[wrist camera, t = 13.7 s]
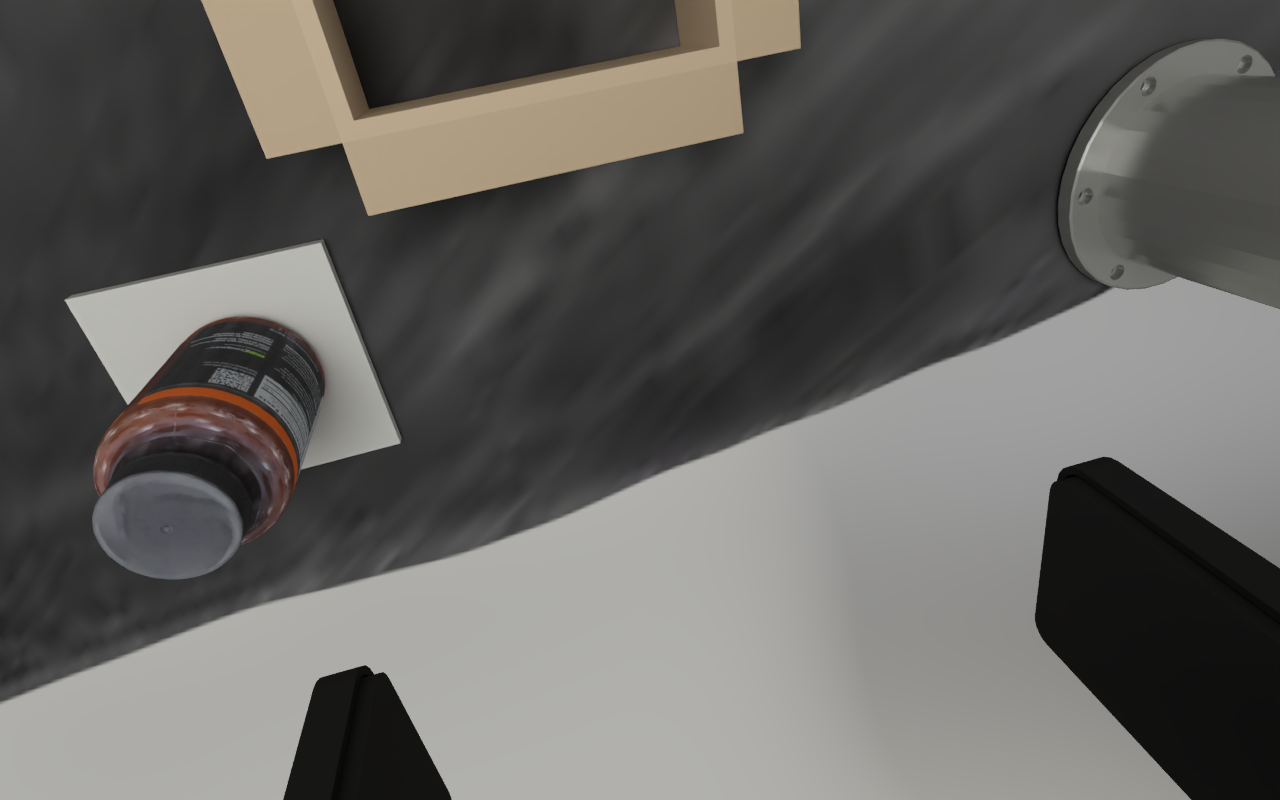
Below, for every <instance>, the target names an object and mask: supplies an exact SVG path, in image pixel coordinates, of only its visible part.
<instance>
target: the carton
mask: <svg viewBox="0 0 1280 800" xmlns="http://www.w3.org/2000/svg"><path fill="white" fill-rule="evenodd" d="M201 1H202V3H203V5H204V8H205V10H206V13H207V15H208V18H209V20H210V22H211V25H212V27H213V30H214V32H215V35H216V37H217V39H218V42H219V44H220V47H221V49H222V52H223V54H224V56H225V59H226V61H227V64H228V66H229V69H230V71H231V74H232V76H233V78H234V81H235V83H236V86H237V88H238V91H239V93H240V95H241V98H242V100H243V103H244V105H245V108H246V110H247V112H248V115H249V117H250V120H251V122H252V125H253V127H254V129H255V132H256V134H257V137H258V139H259V142H260V144H261V146H262V149H263V151H264V154H265V156H266V159H268V158H273V157H277V156H282V155H287V154H292V153H297V152H302V151H306V150H311V149H316V148H321V147H326V146H331V145H335V144H340V143H342V144H343V146H344V149H345V152H346V155H347V158H348V160H349V163H350V166H351V169H352V172H353V174H354V177H355V180H356V183H357V186H358V188H359V191H360V194H361V197H362V200H363V202H364V205H365V208H366V211H367V214H368V216H371V215H375V214H380V213H384V212H389V211H393V210H398V209H402V208H407V207H411V206H416V205H420V204H425V203H429V202H434V201H438V200H443V199H447V198H452V197H457V196H461V195H466V194H470V193H475V192H479V191H484V190H488V189H493V188H497V187H502V186H506V185H511V184H515V183H520V182H524V181H529V180H533V179H538V178H542V177H547V176H552V175H556V174H561V173H565V172H570V171H574V170H579V169H583V168H588V167H592V166H597V165H601V164H606V163H610V162H615V161H619V160H624V159H628V158H633V157H637V156H642V155H647V154H651V153H656V152H660V151H665V150H669V149H674V148H678V147H683V146H687V145H692V144H696V143H701V142H705V141H710V140H714V139H719V138H723V137H728V136H732V135H737V134H742V133H744V132H743V121H742V111H741V100H740V89H739V78H738V67H737V61H741V60H746V59H751V58H756V57H760V56H765V55H770V54H775V53H780V52H785V51H789V50H794V49H799V48H801V42H800V23H799V4H798V0H675V8H676V16H677V24H678V32H679V40H680V46H679V47H674V48H669V49H664V50H659V51H654V52H649V53H644V54H640V55H635V56H630V57H625V58H620V59H615V60H610V61H605V62H600V63H595V64H590V65H585V66H580V67H575V68H570V69H565V70H560V71H555V72H550V73H545V74H540V75H536V76H531V77H526V78H521V79H516V80H511V81H506V82H501V83H496V84H491V85H486V86H481V87H476V88H471V89H466V90H461V91H456V92H451V93H446V94H441V95H436V96H432V97H427V98H422V99H417V100H412V101H407V102H402V103H397V104H392V105H387V106H382V107H377V108H372V109H369V107H368V104H367V101H366V98H365V95H364V92H363V89H362V86H361V83H360V80H359V77H358V74H357V71H356V68H355V65H354V62H353V59H352V56H351V53H350V50H349V47H348V44H347V41H346V38H345V35H344V32H343V29H342V26H341V23H340V20H339V17H338V14H337V11H336V8H335V4H334V1H333V0H201Z"/></svg>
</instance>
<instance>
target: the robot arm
mask: <svg viewBox="0 0 1280 800" xmlns="http://www.w3.org/2000/svg"><path fill="white" fill-rule="evenodd" d="M1058 226H1059V230H1060V235H1061V240H1062V244H1063V246H1064V248H1065V250H1066V253H1067V255H1068V257H1069V259H1070V260H1071V261H1072V263H1073V264H1074V265H1075V266H1076V267H1077V268H1078V270H1079V271H1080V272H1082V273H1083V274H1085V275H1086V276H1088V277H1089V278H1091V279H1092V280H1095V281H1097V282H1100V283H1103V284H1105V285H1108V286H1111V287H1116V288H1122V289H1143V288H1148V287H1151V286H1155V285H1159V284H1162V283H1165V282H1167V281H1169V280H1171V279H1174V278H1176V277H1181V278H1184V279H1187V280H1191V281H1194V282H1197V283H1200V284H1203V285H1206V286H1209V287H1213V288H1216V289H1219V290H1222V291H1225V292H1228V293H1231V294H1234V295H1238V296H1241V297H1244V298H1247V299H1250V300H1254V301H1257V302H1260V303H1263V304H1266V305H1269V306H1272V307H1275V308H1278V309H1280V77H1279V76H1275V74H1274V72H1273V70H1272V68H1271V66H1270V64H1269V62H1268V61H1267V60H1266V59H1265V58H1264V57H1263V56H1262V55H1261V54H1260V53H1259V52H1258V51H1257V50H1256V49H1254V48H1252V47H1250V46H1248V45H1246V44H1244V43H1242V42H1239V41H1233V40H1227V39H1196V40H1192V41H1187V42H1183V43H1178V44H1175V45H1173V46H1171V47H1168V48H1166V49H1164V50H1162V51H1159V52H1157V53H1155V54H1153V55H1152V56H1150V57H1149V58H1148V59H1146V60H1145V61H1143V62H1142V63H1140V64H1139V65H1137V66H1136V67H1134V68H1133V69H1132V70H1131V71H1130V72H1129V73H1127V74H1126V75H1125V76H1124V77H1123V78H1122V79H1121V80H1120V81H1119V82H1118V83H1117V84H1115V85H1114V86H1113V87H1112V89H1111V90H1110V91H1109V92H1108V93H1107V95H1106V96H1105V97H1104V98H1103V99H1102V101H1101V102H1100V103H1099V104H1098V105H1097V107H1096V108H1095V110H1094V111H1093V113H1092V114H1091V116H1090V117H1089V119H1088V120H1087V122H1086V124H1085V125H1084V127H1083V128H1082V130H1081V132H1080V134H1079V136H1078V138H1077V140H1076V142H1075V144H1074V147H1073V149H1072V151H1071V153H1070V155H1069V158H1068V161H1067V165H1066V168H1065V171H1064V174H1063V177H1062V181H1061V187H1060V194H1059V200H1058ZM1035 622H1036V626H1037V629H1038V631H1039V633H1040V635H1041V637H1042V638H1043V640H1044V641H1045V642H1046V644H1047V645H1048V646H1049V647H1050V648H1051V649H1052V650H1053V651H1054V653H1055V654H1056V655H1057V656H1058V657H1059V658H1060V659H1061V660H1062V661H1063V662H1064V663H1065V664H1066V665H1067V666H1068V667H1069V669H1070V670H1071V671H1072V672H1073V673H1074V674H1075V675H1076V676H1077V677H1078V678H1079V679H1080V680H1081V682H1082V683H1083V684H1084V685H1085V686H1086V687H1087V688H1088V689H1089V690H1090V691H1091V692H1092V693H1093V694H1094V695H1095V696H1096V698H1097V699H1098V700H1099V701H1100V702H1101V703H1102V704H1103V705H1104V706H1105V707H1106V708H1107V709H1108V711H1109V712H1110V713H1111V714H1112V715H1113V716H1114V717H1115V718H1116V719H1117V720H1118V721H1119V722H1120V723H1121V725H1122V726H1123V727H1124V728H1125V729H1126V730H1127V731H1128V732H1129V733H1130V734H1131V735H1132V736H1133V737H1134V738H1135V740H1136V741H1137V742H1138V743H1139V744H1140V745H1141V746H1142V747H1143V748H1144V749H1145V750H1146V751H1147V752H1148V754H1149V755H1150V756H1151V757H1152V758H1153V759H1154V760H1155V761H1156V762H1157V763H1158V764H1159V765H1160V766H1161V767H1162V769H1163V770H1164V771H1165V772H1166V773H1167V774H1168V775H1169V776H1170V777H1171V778H1172V779H1173V780H1174V782H1175V783H1177V785H1178V786H1179V787H1180V788H1181V789H1182V790H1183V791H1184V792H1185V793H1186V794H1187V795H1188V797H1189V798H1190V799H1191V800H1280V568H1278V567H1277V566H1275V565H1274V564H1272V563H1271V562H1269V561H1268V560H1266V559H1265V558H1263V557H1262V556H1260V555H1258V554H1257V553H1256V552H1254V551H1253V550H1251V549H1250V548H1248V547H1246V546H1245V545H1244V544H1242V543H1241V542H1239V541H1238V540H1236V539H1234V538H1233V537H1231V536H1230V535H1228V534H1227V533H1225V532H1224V531H1222V530H1221V529H1219V528H1218V527H1216V526H1215V525H1213V524H1212V523H1210V522H1209V521H1207V520H1206V519H1204V518H1203V517H1201V516H1200V515H1198V514H1196V513H1195V512H1194V511H1192V510H1191V509H1189V508H1188V507H1186V506H1185V505H1183V504H1182V503H1180V502H1179V501H1177V500H1176V499H1174V498H1172V497H1171V496H1170V495H1168V494H1167V493H1165V492H1164V491H1162V490H1161V489H1159V488H1158V487H1156V486H1155V485H1153V484H1152V483H1150V482H1149V481H1147V480H1145V479H1144V478H1142V477H1141V476H1139V475H1138V474H1136V473H1135V472H1133V471H1132V470H1130V469H1129V468H1127V467H1126V466H1124V465H1123V464H1121V463H1120V462H1118V461H1116V460H1114V459H1112V458H1109V457H1102V458H1098V459H1094V460H1091V461H1087V462H1083V463H1080V464H1076V465H1073V466H1069V467H1066V468H1063V469H1062V471H1061V472H1060V473H1059V475H1058V479H1057V481H1056V482H1054V483H1053V484H1052V485H1051V488H1050V494H1049V502H1048V511H1047V519H1046V528H1045V536H1044V545H1043V554H1042V561H1041V570H1040V579H1039V587H1038V595H1037V603H1036V613H1035ZM283 800H451V796H450V794H449V791H448V789H447V788H446V786H445V784H444V782H443V780H442V778H441V776H440V774H439V772H438V771H437V769H436V767H435V765H434V763H433V761H432V759H431V757H430V755H429V754H428V751H427V750H426V748H425V746H424V744H423V742H422V740H421V738H420V736H419V734H418V732H417V731H416V729H415V727H414V725H413V723H412V721H411V719H410V717H409V715H408V714H407V712H406V710H405V708H404V706H403V704H402V702H401V700H400V699H399V696H398V695H397V693H396V691H395V689H394V687H393V685H392V683H391V681H390V679H389V678H388V676H387V675H386V674H385V673H383V672H382V673H378V674H375V675H374V674H373V672H372V671H371V669H370V668H369V667H367V666H366V665H365V666H361V667H357V668H354V669H350V670H346V671H343V672H339V673H336V674H332V675H329V676H325V677H322V678H320V679H319V680H318V681H317V682H316V684H315V687H314V689H313V692H312V696H311V700H310V703H309V707H308V711H307V714H306V718H305V722H304V726H303V729H302V733H301V736H300V740H299V744H298V747H297V751H296V755H295V759H294V762H293V766H292V769H291V773H290V777H289V781H288V785H287V788H286V792H285V795H284V799H283Z"/></svg>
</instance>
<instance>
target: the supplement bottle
mask: <svg viewBox="0 0 1280 800" xmlns="http://www.w3.org/2000/svg"><path fill="white" fill-rule="evenodd" d="M324 392H325V376H324V372H323V369H322V366H321V363H320V361H319V359H318V357H317V356H316V354H315V352H314V351H313V350H312V349H311V347H310V346H309V345H308V344H307V343H306V342H305V341H304V340H303V339H302V338H301V337H300V336H299V335H297V334H296V333H295V332H293V331H291V330H289V329H287V328H285V327H284V326H282V325H279V324H277V323H275V322H272V321H268V320H265V319H261V318H254V317H230V318H224V319H220V320H217V321H214V322H211V323H209V324H207V325H205V326H203V327H201V328H199V329H198V330H196V331H195V332H194V333H193V334H191V335H190V336H189V337H188V338H187V339H186V340H185V341H184V342H183V343H182V344H180V346H179V347H178V348H177V349H176V351H174V353H173V354H172V355H171V356H170V357H169V358H168V360H167V361H166V362H165V363H164V364H163V366H162V367H161V368H160V369H159V370H158V371H157V372H156V374H155V375H154V376H153V377H152V378H151V379H150V380H149V382H148V383H147V384H146V385H145V386H144V387H143V389H142V390H141V391H140V392H139V393H138V394H137V396H136V397H135V398H134V399H133V400H132V401H131V402H130V403H129V404H128V406H127V407H126V408H125V409H124V410H123V411H122V412H121V413H120V415H119V416H118V418H117V419H116V420H115V421H114V422H113V424H112V425H111V426H110V427H109V429H108V430H107V431H106V433H105V435H104V436H103V438H102V440H101V442H100V444H99V446H98V448H97V451H96V456H95V460H94V466H93V470H94V472H93V477H94V483H95V488H96V490H97V492H98V495H99V499H98V501H97V502H96V504H95V508H94V511H93V516H92V525H93V532H94V534H95V536H96V539H97V540H98V543H99V544H100V545H101V547H102V549H103V550H104V551H105V552H106V553H107V554H108V555H109V556H110V557H111V558H112V559H114V560H115V561H116V562H117V563H119V564H120V565H122V566H124V567H125V568H127V569H129V570H131V571H133V572H136V573H139V574H142V575H145V576H149V577H153V578H161V579H186V578H193V577H197V576H200V575H203V574H207V573H209V572H212V571H214V570H215V569H217V568H219V567H221V566H222V565H223V564H224V563H226V562H227V561H228V560H229V559H230V558H231V557H232V556H233V555H234V554H235V552H236V551H237V550H238V548H239V546H240V545H242V544H245V543H247V542H250V541H251V540H253V539H255V538H257V537H258V536H260V535H261V534H263V533H264V532H265V531H267V530H268V529H269V528H270V527H271V526H272V525H273V524H274V523H275V522H276V521H277V519H278V518H279V517H280V516H281V515H282V513H283V511H284V510H285V508H286V507H287V505H288V502H289V500H290V498H291V496H292V493H293V490H294V487H295V485H296V483H297V479H298V476H299V473H300V470H301V467H302V464H303V461H304V458H305V455H306V452H307V449H308V446H309V443H310V440H311V437H312V434H313V431H314V428H315V425H316V422H317V419H318V416H319V413H320V410H321V407H322V402H323V397H324V394H325V393H324Z"/></svg>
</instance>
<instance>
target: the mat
mask: <svg viewBox="0 0 1280 800" xmlns="http://www.w3.org/2000/svg"><path fill="white" fill-rule="evenodd" d="M65 302H66V303H67V305H68V307H69V308H70V310H71V311H72V313H73V315H74V316H75V318H76V320H77V321H78V323H79V325H80V326H81V328H82V330H83V331H84V333H85V335H86V336H87V338H88V340H89V341H90V343H91V345H92V346H93V348H94V350H95V351H96V353H97V355H98V356H99V358H100V360H101V361H102V363H103V365H104V366H105V368H106V370H107V371H108V373H109V375H110V376H111V378H112V380H113V381H114V383H115V385H116V386H117V388H118V390H119V391H120V393H121V394H122V396H123V398H124V399H125V401H126V403H127V404H129V403H130V402H131V401H132V400H133V399H134V398H135V397H136V396H137V394H138V393H139V392H140V391H141V390H142V389H143V387H144V386H145V385H146V384H147V383H148V382H149V380H150V379H151V378H152V377H153V376H154V375H155V374H156V372H157V371H158V370H159V369H160V368H161V367H162V366H163V364H164V363H165V362H166V361H167V360H168V358H169V357H170V356H171V355H172V354H173V353H174V351H176V349H177V348H178V347H179V346H180V344H182V343H183V342H184V341H185V340H186V339H187V338H188V337H189V336H190V335H191V334H193V333H194V332H195V331H196V330H198V329H199V328H201V327H203V326H205V325H207V324H209V323H211V322H214V321H217V320H220V319H224V318H230V317H254V318H261V319H265V320H268V321H272V322H275V323H277V324H279V325H282V326H284V327H285V328H287V329H289V330H291V331H293V332H295V333H296V334H297V335H299V336H300V337H301V338H302V339H303V340H304V341H305V342H306V343H307V344H308V345H309V346H310V347H311V349H312V350H313V351H314V352H315V354H316V356H317V357H318V359H319V361H320V363H321V366H322V369H323V372H324V376H325V392H324V393H325V394H324V397H323V402H322V407H321V410H320V413H319V416H318V419H317V422H316V425H315V428H314V431H313V434H312V437H311V440H310V443H309V446H308V449H307V452H306V455H305V458H304V461H303V464H302V467H301V469H305V468H309V467H312V466H316V465H320V464H324V463H328V462H331V461H335V460H339V459H343V458H347V457H350V456H354V455H358V454H362V453H366V452H369V451H373V450H377V449H381V448H385V447H388V446H392V445H396V444H400V443H401V435H400V433H399V430H398V427H397V425H396V422H395V420H394V417H393V415H392V412H391V410H390V407H389V405H388V402H387V400H386V397H385V395H384V392H383V389H382V387H381V384H380V382H379V379H378V377H377V374H376V372H375V369H374V367H373V364H372V362H371V359H370V356H369V354H368V351H367V349H366V346H365V344H364V341H363V339H362V336H361V334H360V331H359V329H358V326H357V324H356V321H355V318H354V316H353V313H352V311H351V308H350V306H349V303H348V301H347V298H346V296H345V293H344V291H343V288H342V286H341V283H340V280H339V278H338V275H337V273H336V270H335V268H334V265H333V263H332V260H331V258H330V255H329V253H328V250H327V248H326V245H325V242H324V240H323V239H321V240H317V241H312V242H308V243H303V244H299V245H294V246H290V247H285V248H281V249H277V250H272V251H268V252H263V253H259V254H254V255H250V256H245V257H241V258H236V259H232V260H227V261H223V262H218V263H214V264H209V265H205V266H200V267H196V268H191V269H187V270H182V271H178V272H174V273H169V274H165V275H160V276H156V277H151V278H147V279H142V280H138V281H133V282H129V283H124V284H120V285H115V286H111V287H106V288H102V289H97V290H93V291H88V292H84V293H80V294H75V295H71V296H70V297H68V298H67V299H65Z"/></svg>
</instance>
